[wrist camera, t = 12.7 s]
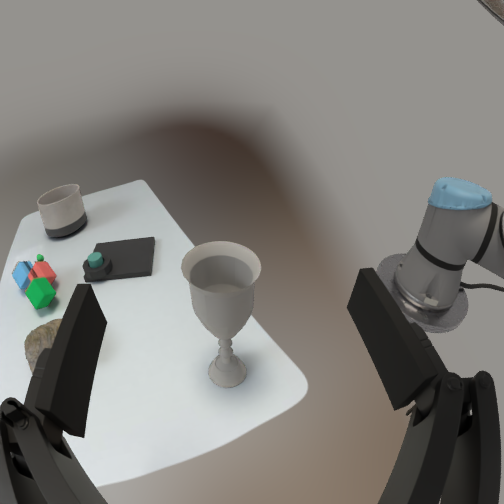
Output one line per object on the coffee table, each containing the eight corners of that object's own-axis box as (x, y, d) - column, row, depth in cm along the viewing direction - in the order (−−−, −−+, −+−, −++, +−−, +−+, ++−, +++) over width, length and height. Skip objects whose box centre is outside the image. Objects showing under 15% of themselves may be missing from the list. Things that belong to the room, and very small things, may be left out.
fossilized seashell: (44, 318, 36) (33, 297, 31) (96, 340, 38) (90, 322, 33) (23, 371, 29) (7, 357, 24) (78, 398, 31) (67, 389, 26)
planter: (70, 215, 70) (62, 183, 64) (96, 220, 67) (88, 185, 61) (40, 237, 60) (29, 203, 53) (64, 245, 57) (52, 207, 51)
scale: (154, 241, 59) (152, 229, 57) (150, 279, 49) (147, 266, 47) (97, 247, 56) (94, 236, 55) (84, 285, 46) (79, 273, 44)
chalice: (193, 360, 35) (170, 252, 25) (236, 342, 38) (235, 234, 28) (216, 403, 30) (200, 304, 20) (263, 381, 33) (277, 276, 23)
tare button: (104, 258, 49) (102, 251, 48) (102, 267, 46) (99, 260, 45) (91, 260, 48) (89, 252, 47) (88, 269, 46) (85, 261, 45)
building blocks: (50, 315, 44) (22, 272, 44) (68, 289, 45) (38, 245, 44) (28, 323, 36) (-2, 275, 36) (45, 294, 37) (14, 245, 36)
